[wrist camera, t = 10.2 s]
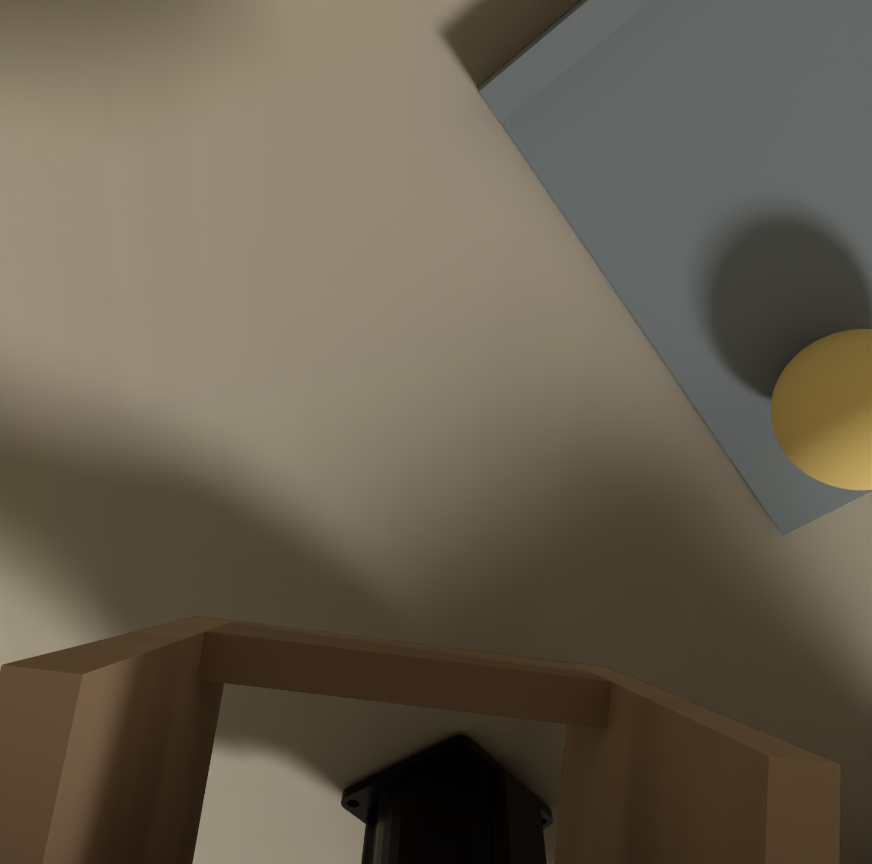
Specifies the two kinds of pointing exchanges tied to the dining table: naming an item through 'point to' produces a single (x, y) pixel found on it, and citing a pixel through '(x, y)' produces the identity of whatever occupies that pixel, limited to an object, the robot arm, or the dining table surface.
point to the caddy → (395, 683)
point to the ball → (828, 410)
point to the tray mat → (714, 191)
